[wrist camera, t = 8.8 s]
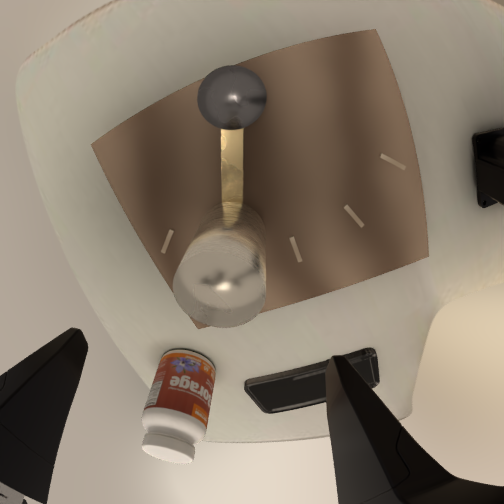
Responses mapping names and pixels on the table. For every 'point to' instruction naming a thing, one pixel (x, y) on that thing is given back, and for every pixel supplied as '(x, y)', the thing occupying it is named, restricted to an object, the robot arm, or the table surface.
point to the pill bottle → (178, 406)
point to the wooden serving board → (285, 170)
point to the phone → (306, 383)
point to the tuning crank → (227, 214)
